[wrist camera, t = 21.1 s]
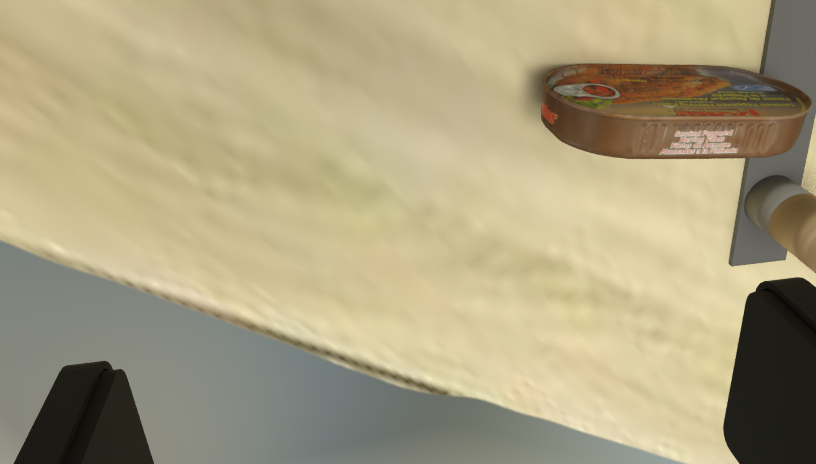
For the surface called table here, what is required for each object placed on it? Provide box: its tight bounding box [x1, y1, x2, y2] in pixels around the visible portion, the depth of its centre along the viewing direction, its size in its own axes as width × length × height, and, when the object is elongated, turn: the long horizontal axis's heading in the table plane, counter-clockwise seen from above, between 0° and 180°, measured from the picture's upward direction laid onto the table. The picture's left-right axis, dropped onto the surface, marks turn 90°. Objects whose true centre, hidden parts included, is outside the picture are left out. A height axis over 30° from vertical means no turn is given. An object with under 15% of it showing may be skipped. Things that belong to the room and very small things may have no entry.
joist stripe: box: [729, 0, 816, 266], centre depth 46 cm, size 22×4×1 cm, turn 4°
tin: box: [541, 64, 812, 159], centre depth 41 cm, size 15×3×8 cm, turn 88°
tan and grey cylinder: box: [744, 175, 816, 273], centre depth 45 cm, size 4×4×8 cm
